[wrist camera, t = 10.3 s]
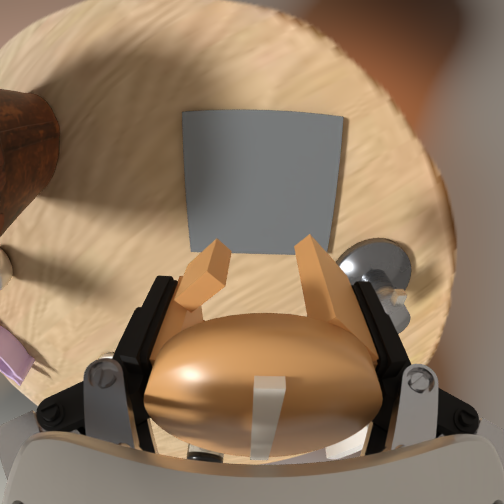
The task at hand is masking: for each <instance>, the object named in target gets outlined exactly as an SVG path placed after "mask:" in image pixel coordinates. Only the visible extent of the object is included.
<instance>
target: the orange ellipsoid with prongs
mask: <svg viewBox="0 0 504 504" xmlns="http://www.w3.org/2000/svg"><path fill="white" fill-rule="evenodd" d="M294 249H295V254H296V258H297V263H298V268H299V274H300V279H301V284H302V289H303V295H304V300H305V305H306V311H307V317H305V316H298V315H292V314H278V313H250V314H240V315H231V316H226V317H221V318H215V319H211V320H208V321H204V320H203V316H202V308H201V305H202V304H203V303H204V302H206V301H207V300H208V299H210V298H211V297H212V296H213V295H215V294H216V293H217V292H219V291H220V290H221V289H222V288H224V287H225V285H226V279H227V274H228V268H229V263H230V257H231V252H232V251H231V250H230V249H229V248H228V247H226V246H225V245H224V244H223V243H222V242H221V241H220V240H219V239H217V238H216V239H215V240H214V241H213V242H212V243H211V244H210V245H209V246H208V247H207V248H206V249H204V250H203V251H202V252H201V253H200V254H199V255H198V256H197V257H196V258H195V259H194V260H193V261H192V262H190V263H189V264H188V266H187V268H186V271H185V273H184V276H180V277H179V279H178V284H177V287H176V289H175V292H174V294H173V297H172V299H171V302H170V304H169V307H168V310H167V312H166V315H165V317H164V320H163V323H162V325H161V328H160V331H159V334H158V336H157V339H156V342H155V345H154V347H153V350H152V353H151V356H150V362H151V364H152V367H153V368H152V371H151V374H150V377H149V381H148V384H147V387H146V390H145V393H144V406H145V409H146V411H147V413H148V415H149V416H150V417H151V418H152V420H153V421H154V422H155V423H156V424H157V425H158V426H160V427H161V428H162V429H163V430H165V431H166V432H168V433H169V434H171V435H173V436H174V437H176V438H178V439H180V440H182V441H184V442H187V443H189V444H191V445H194V446H197V447H200V448H203V449H206V450H210V451H214V452H219V453H223V454H229V455H236V456H246V457H250V460H268V458H269V457H278V456H288V455H296V454H301V453H307V452H311V451H315V450H319V449H322V448H325V447H328V446H331V445H334V444H336V443H338V442H341V441H343V440H345V439H347V438H349V437H351V436H353V435H354V434H356V433H357V432H359V431H360V430H362V429H363V428H364V427H366V426H367V425H368V424H369V423H370V422H371V421H372V420H373V419H374V418H375V416H376V415H377V414H378V412H379V410H380V408H381V406H382V400H383V397H382V391H381V388H380V385H379V381H378V378H377V375H376V371H375V368H376V366H377V364H378V363H377V359H379V357H378V354H377V351H376V349H375V346H374V343H373V340H372V337H371V335H370V332H369V329H368V327H367V324H366V321H365V319H364V316H363V314H362V311H361V308H360V306H359V303H358V301H357V298H356V296H355V294H354V291H353V289H352V286H351V284H350V281H349V279H348V277H347V275H346V274H345V273H344V272H343V270H342V269H341V268H340V267H339V266H338V265H337V264H336V262H335V261H334V260H333V259H332V258H331V257H330V256H329V255H328V253H327V252H326V251H325V250H324V249H323V248H322V247H321V246H320V245H319V243H318V242H317V241H316V240H315V239H314V238H313V237H312V236H311V235H310V234H309V235H308V236H307V237H305V238H304V239H303V240H301V241H300V242H299V243H298V244H296V245H295V246H294Z"/></svg>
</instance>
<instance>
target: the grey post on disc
mask: <svg viewBox="0 0 504 504" xmlns="http://www.w3.org/2000/svg"><path fill="white" fill-rule="evenodd" d="M336 264H337V265H338V266H339V267H340V268H341V269H342V270H343V272H344V273H345V274H346V275H347V277H348V279H349V281H350V284H351V285H354V283H355V282H356V281H369V282H371V284H372V286H373V288H374V290H375V292H376V294H377V296H378V298H379V300H380V302H381V304H382V306H383V308H384V310H385V312H386V313H387V314H388V315H389V316H390V318H391V320H392V322H393V324H394V326H395V329H396V331H397V333H398V334H399V333H401V332H402V331H403V330H404V329H405V328H406V327H407V326H408V324H409V322H410V314H409V312H408V310H407V309H406V307H405V305H404V302H405V300H406V297H407V294H406V293H405V289H406V287H407V285H408V283H409V280H410V276H411V264H410V260H409V258H408V256H407V255H406V253H405V252H404V251H403V250H402V248H401V247H400V246H399V245H398V244H396V243H395V242H393V241H391V240H388V239H383V238H373V239H368V240H364V241H361V242H359V243H357V244H355V245H353V246H352V247H350V248H349V249H347V250H346V251H345V252H344V253H343V254H342V255H341V256H340V257H339V258H338V260H337V261H336Z"/></svg>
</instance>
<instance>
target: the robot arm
mask: <svg viewBox="0 0 504 504" xmlns="http://www.w3.org/2000/svg"><path fill="white" fill-rule="evenodd" d="M177 284H178V282H177V280H173V277H172V276H157V277H156V279H155V281H154V283H153V285H152V287H151V289H150V291H149V293H148V295H147V297H146V299H145V301H144V303H143V305H142V307H138V308H136V310H135V311H134V313H133V315H132V317H131V319H130V321H129V323H128V325H127V327H126V329H125V331H124V334H123V336H122V338H121V340H120V342H119V344H118V346H117V349H116V351H115V353H107V354H103V355H101V356H100V357H99V359H98V360H95V361H94V362H92V363H91V364H90V365H89V366H88V367H87V368H86V370H85V372H84V381H82V382H80V383H78V384H76V385H74V386H72V387H70V388H67V389H65V390H63V391H61V392H59V393H57V394H54V395H52V396H50V397H48V398H46V399H44V400H43V401H42V402H41V403H40V404H39V406H38V408H37V412H34V411H33V410H32V411H30V412H28V413H25V414H23V415H21V416H19V417H17V418H15V419H12V420H10V421H8V422H6V423H3V424H2V425H1V426H0V459H1V462H2V465H3V469H4V472H5V475H6V477H7V480H8V481H7V484H6V488H5V492H4V497H3V502H2V504H504V430H503V429H502V428H500V427H498V426H496V425H494V424H493V423H491V422H489V421H487V420H486V419H484V418H481V419H480V420H479V417H478V414H477V412H476V410H475V409H474V408H473V407H472V406H470V405H469V404H467V403H465V402H463V401H462V400H459V399H458V398H456V397H454V396H452V395H451V394H449V393H447V392H445V391H443V390H441V389H440V388H438V378H437V376H436V374H435V373H434V371H433V370H432V369H430V368H429V367H428V366H425V365H423V364H413V365H411V363H410V360H409V358H408V356H407V353H406V351H405V349H404V346H403V344H402V342H401V340H400V337H399V335H398V333H397V331H396V329H395V326H394V324H393V322H392V320H391V318H390V316H389V315H388V314H387V313H386V312H385V310H384V308H383V306H382V304H381V302H380V300H379V298H378V296H377V294H376V292H375V290H374V288H373V286H372V284H371V282H369V281H356V282H355V283H354V285H351V286H352V289H353V291H354V294H355V296H356V298H357V301H358V303H359V306H360V308H361V311H362V314H363V316H364V319H365V321H366V324H367V327H368V329H369V332H370V335H371V337H372V340H373V343H374V346H375V349H376V351H377V354H378V357H379V359H377V363H378V364H377V366H376V368H375V371H376V375H377V378H378V381H379V385H380V388H381V391H382V397H383V400H382V406H381V408H380V410H379V412H378V414H377V415H376V416H375V418H374V419H373V420H372V421H371V422H370V423H369V426H368V430H367V434H366V438H365V441H364V445H363V448H362V452H361V455H360V457H355V458H349V459H342V460H335V461H326V462H316V463H304V464H286V465H246V464H228V463H215V462H205V461H197V460H190V459H183V458H177V457H171V456H165V455H160V454H159V453H158V450H157V446H156V442H155V438H154V434H153V430H152V426H151V422H150V418H151V417H150V416H149V415H148V413H147V411H146V409H145V406H144V393H145V390H146V387H147V384H148V381H149V377H150V374H151V371H152V368H153V367H152V364H151V362H150V356H151V353H152V350H153V347H154V345H155V342H156V339H157V336H158V334H159V331H160V328H161V325H162V323H163V320H164V317H165V315H166V312H167V310H168V307H169V304H170V302H171V299H172V297H173V294H174V292H175V289H176V287H177Z"/></svg>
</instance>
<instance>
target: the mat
mask: <svg viewBox="0 0 504 504" xmlns="http://www.w3.org/2000/svg"><path fill="white" fill-rule="evenodd" d="M182 126H183V154H184V173H185V189H186V203H187V215H188V227H189V238H190V248H191V252H202V251H203V250H204V249H206V248H207V247H208V246H209V245H210V244H211V243H212V242H213V241H214V240H215V239H216V238H217V239H219V240H220V241H221V242H222V243H223V244H224V245H225V246H226V247H228V248H229V249H230V250H231V251H232V252H231V253H249V254H285V255H296V254H295V249H294V246H295V245H296V244H298V243H299V242H300V241H301V240H303V239H304V238H305V237H307V236H308V235H309V234H310V235H311V236H312V237H313V238H314V239H315V240H316V241H317V242H318V243H319V245H320V246H321V247H322V248H323V249H324V250H325V251H326V252H327V250H328V244H329V238H330V232H331V225H332V218H333V211H334V204H335V197H336V189H337V181H338V172H339V163H340V152H341V142H342V129H343V117H341V116H333V115H325V114H315V113H305V112H292V111H274V110H205V111H187V112H182Z"/></svg>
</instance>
